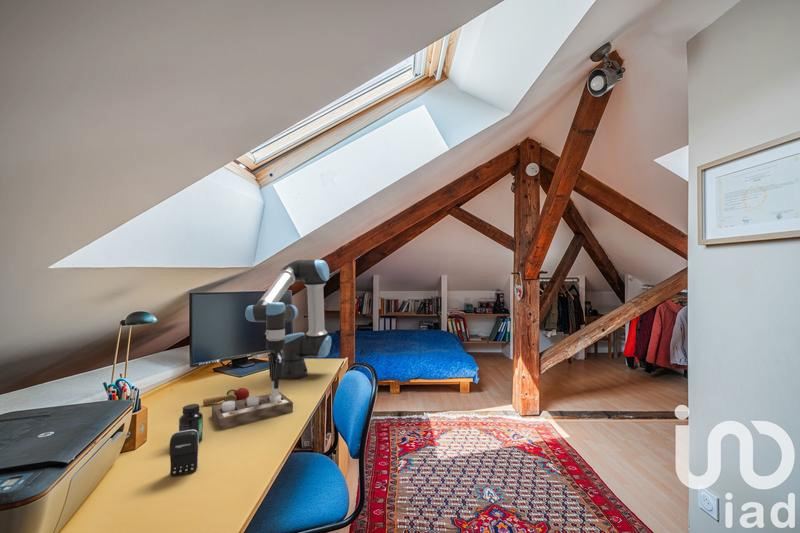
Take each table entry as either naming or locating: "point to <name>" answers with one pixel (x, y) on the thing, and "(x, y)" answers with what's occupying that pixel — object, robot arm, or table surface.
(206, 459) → the table surface
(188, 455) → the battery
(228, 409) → the button
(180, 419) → the supplement bottle
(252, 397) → the button middle
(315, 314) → the robot arm
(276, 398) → the button
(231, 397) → the kendama
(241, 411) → the button board
